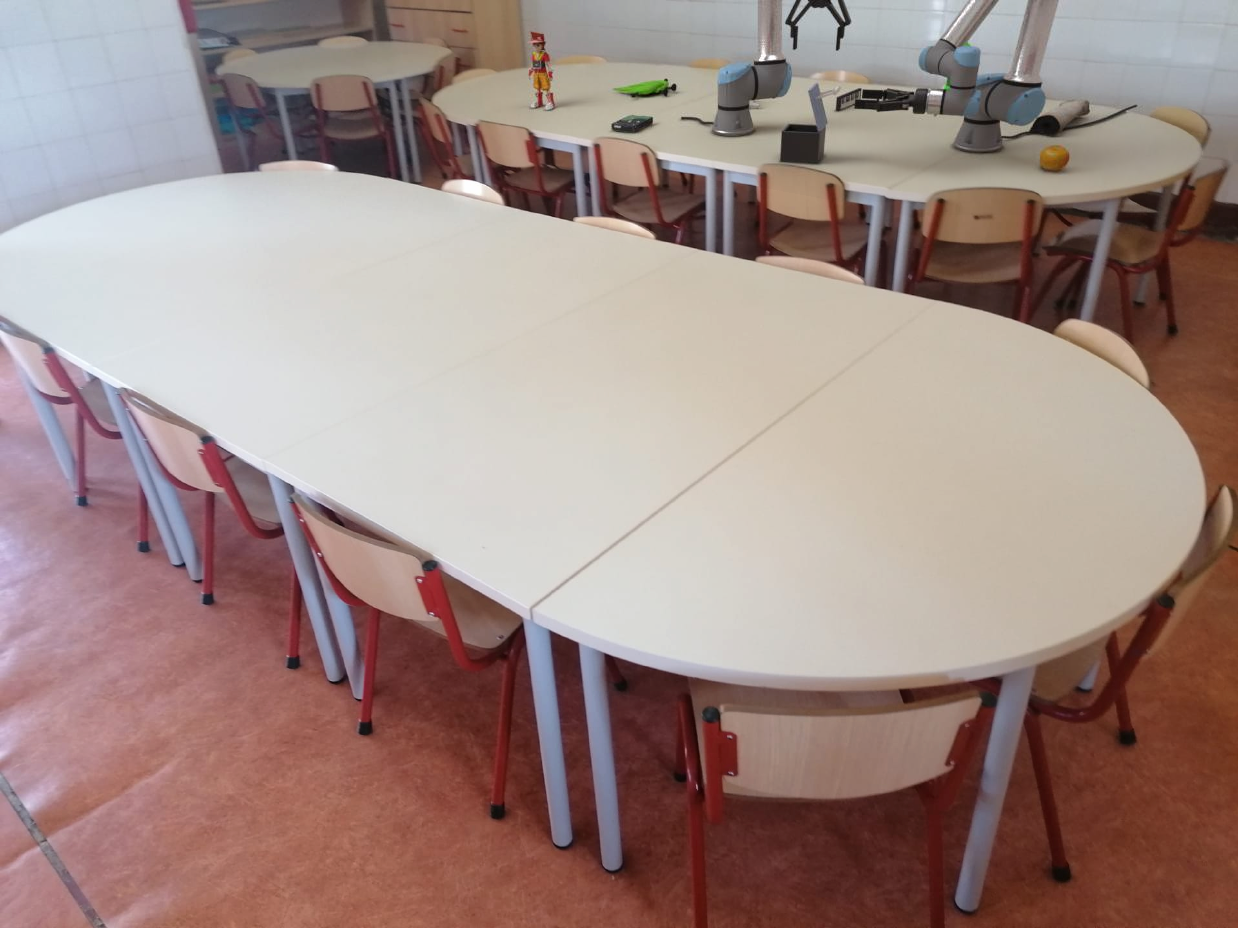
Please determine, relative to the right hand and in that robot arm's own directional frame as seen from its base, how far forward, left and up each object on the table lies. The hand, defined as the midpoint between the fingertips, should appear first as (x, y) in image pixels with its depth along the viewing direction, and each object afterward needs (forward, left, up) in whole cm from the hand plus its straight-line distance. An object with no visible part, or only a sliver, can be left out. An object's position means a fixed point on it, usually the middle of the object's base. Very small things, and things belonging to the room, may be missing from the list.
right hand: (858, 99), depth 287 cm
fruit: (-57, +22, -20) cm, 64 cm away
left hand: (+13, -6, +14) cm, 21 cm away
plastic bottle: (-58, -68, -20) cm, 92 cm away
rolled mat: (-81, -26, -20) cm, 88 cm away
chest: (+15, -7, -20) cm, 26 cm away
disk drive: (+70, -62, -20) cm, 95 cm away
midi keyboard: (-18, -72, -20) cm, 77 cm away
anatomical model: (+22, -85, -20) cm, 90 cm away
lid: (+12, -6, -3) cm, 14 cm away
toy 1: (+106, -104, -20) cm, 150 cm away
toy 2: (+62, -121, -20) cm, 137 cm away
